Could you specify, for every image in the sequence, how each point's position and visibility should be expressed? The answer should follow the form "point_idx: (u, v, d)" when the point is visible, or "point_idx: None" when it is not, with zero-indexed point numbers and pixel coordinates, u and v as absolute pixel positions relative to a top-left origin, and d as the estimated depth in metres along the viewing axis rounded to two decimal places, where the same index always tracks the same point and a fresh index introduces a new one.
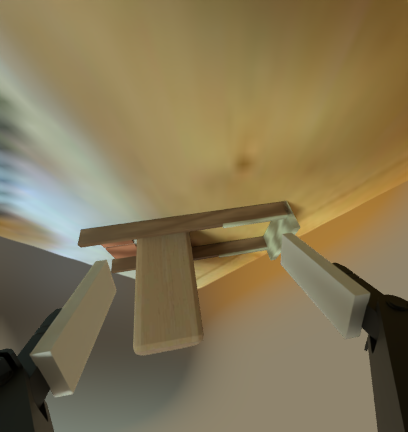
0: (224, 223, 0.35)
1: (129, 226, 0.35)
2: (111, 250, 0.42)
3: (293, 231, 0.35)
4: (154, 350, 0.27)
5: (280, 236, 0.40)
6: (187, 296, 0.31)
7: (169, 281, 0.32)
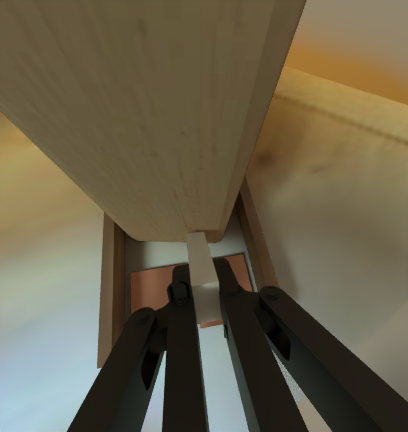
0: None
1: None
2: None
3: None
4: None
5: None
6: None
7: None
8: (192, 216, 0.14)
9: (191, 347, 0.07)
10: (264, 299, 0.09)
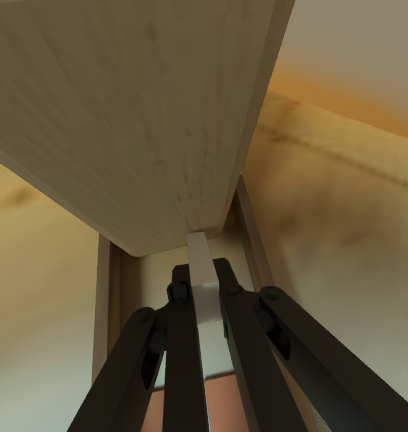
0: None
1: None
2: None
3: None
4: None
5: None
6: None
7: None
8: (195, 216, 0.14)
9: (191, 347, 0.07)
10: (264, 299, 0.09)
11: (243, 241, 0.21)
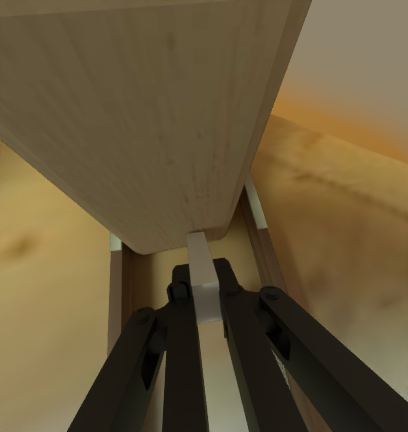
0: None
1: None
2: None
3: None
4: None
5: None
6: None
7: None
8: (201, 216, 0.14)
9: (191, 347, 0.07)
10: (264, 299, 0.09)
11: None
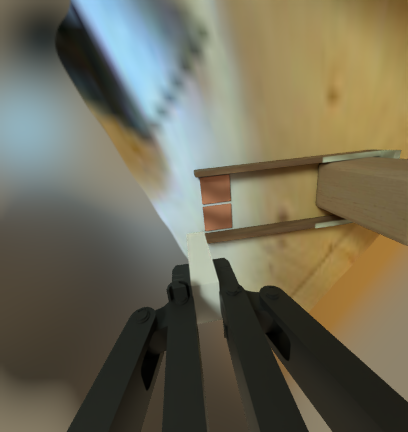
0: (324, 156, 0.38)
1: (236, 165, 0.39)
2: (207, 212, 0.42)
3: (395, 157, 0.36)
4: None
5: None
6: None
7: (392, 162, 0.32)
8: (341, 203, 0.36)
9: (191, 347, 0.07)
10: (264, 299, 0.09)
11: (280, 223, 0.44)
